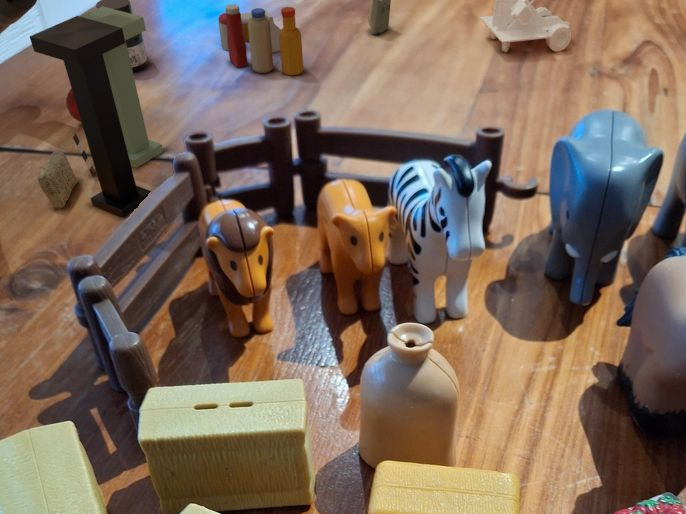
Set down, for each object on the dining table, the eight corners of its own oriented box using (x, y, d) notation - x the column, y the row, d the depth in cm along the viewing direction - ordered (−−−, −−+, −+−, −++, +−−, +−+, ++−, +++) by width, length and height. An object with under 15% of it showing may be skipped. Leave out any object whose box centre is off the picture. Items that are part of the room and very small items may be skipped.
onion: (88, 134, 137) (75, 90, 130) (66, 126, 139) (53, 83, 132) (110, 122, 140) (98, 78, 134) (89, 114, 142) (76, 71, 136)
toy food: (308, 74, 153) (305, 10, 143) (252, 86, 149) (245, 21, 140) (261, 30, 168) (256, -30, 159) (209, 40, 165) (200, -21, 155)
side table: (171, 151, 132) (143, 16, 115) (136, 172, 127) (102, 35, 110) (134, 138, 135) (102, 6, 118) (99, 159, 131) (61, 24, 114)
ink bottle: (107, 77, 153) (90, 13, 143) (102, 61, 158) (86, -1, 149) (153, 70, 155) (140, 7, 145) (146, 55, 160) (133, -7, 151)
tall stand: (161, 198, 122) (122, 27, 102) (123, 223, 117) (75, 49, 97) (122, 183, 125) (77, 15, 105) (84, 207, 120) (29, 36, 100)
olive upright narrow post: (390, 37, 165) (392, -3, 159) (367, 37, 165) (368, -3, 159) (390, 27, 169) (391, -12, 162) (367, 27, 169) (368, -12, 162)
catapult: (499, 60, 156) (511, -26, 144) (477, 35, 165) (487, -48, 153) (577, 51, 159) (595, -34, 146) (551, 27, 168) (566, -55, 155)
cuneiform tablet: (95, 172, 127) (78, 209, 120) (72, 177, 128) (53, 213, 120) (75, 133, 122) (56, 168, 114) (51, 138, 123) (30, 174, 115)
